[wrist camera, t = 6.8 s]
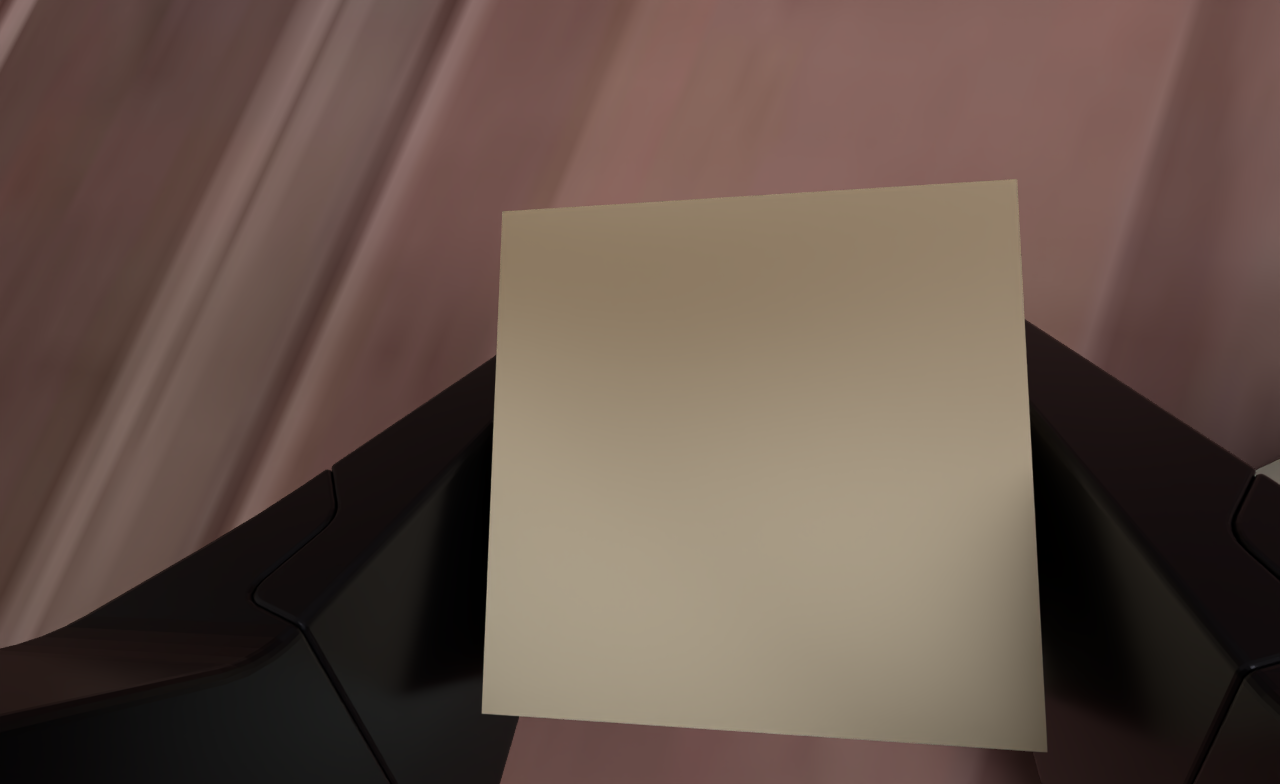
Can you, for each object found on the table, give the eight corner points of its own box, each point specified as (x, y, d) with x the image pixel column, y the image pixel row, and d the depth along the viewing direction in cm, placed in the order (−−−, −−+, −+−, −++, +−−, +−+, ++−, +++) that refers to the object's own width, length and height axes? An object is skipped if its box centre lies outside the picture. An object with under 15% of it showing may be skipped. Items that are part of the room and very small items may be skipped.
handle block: (900, 602, 15) (1047, 753, 6) (683, 594, 16) (481, 712, 6) (893, 386, 16) (1017, 179, 6) (685, 389, 17) (503, 210, 7)
